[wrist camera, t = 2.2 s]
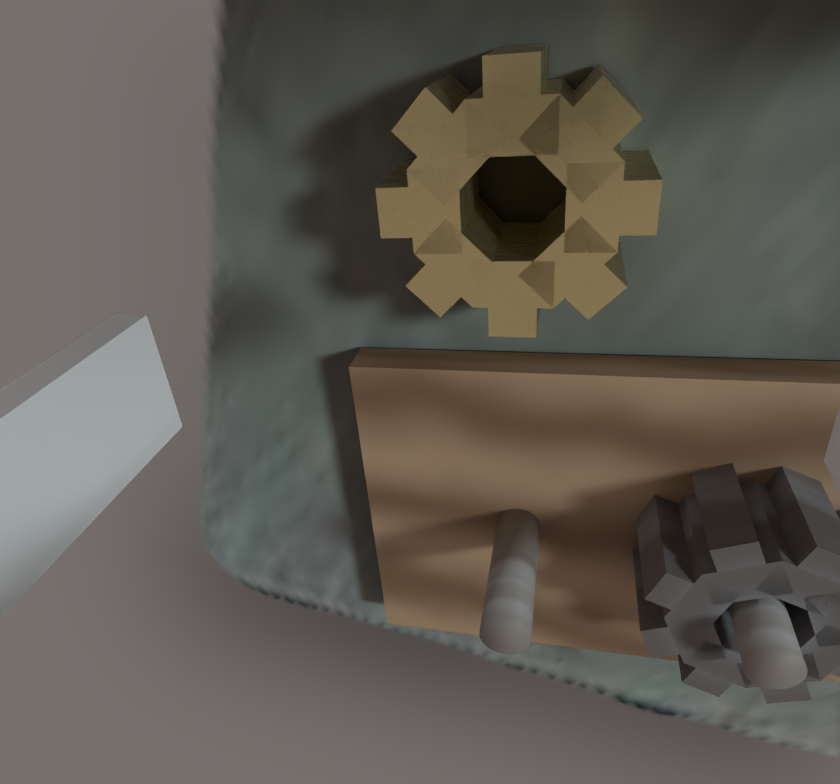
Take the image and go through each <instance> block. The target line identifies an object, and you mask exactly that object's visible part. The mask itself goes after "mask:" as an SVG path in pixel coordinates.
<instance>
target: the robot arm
mask: <svg viewBox="0 0 840 784" xmlns="http://www.w3.org/2000/svg"><path fill="white" fill-rule="evenodd" d="M181 427H182V424H181V420H180V417H179V414H178V411H177V408H176V405H175V402H174V398H173V396H172V392H171V389H170V386H169V383H168V380H167V377H166V374H165V371H164V367H163V364H162V361H161V358H160V355H159V352H158V349H157V346H156V343H155V340H154V337H153V333H152V331H151V327H150V324H149V321H148V318H147V315H113V316H112V317H110V318H109V319H107V320H106V321H104V322H103V323H101V324H100V325H98V326H96V327H95V328H94V329H92V330H90V331H89V332H87V333H86V334H84V335H83V336H81V337H80V338H78V339H77V340H75V341H74V342H72V343H71V344H69V345H68V346H66V347H65V348H63V349H62V350H60V351H59V352H57V353H56V354H54V355H53V356H51V357H49V358H48V359H46V360H45V361H43V362H42V363H40V364H39V365H38V366H36V367H34V368H33V369H31V370H30V371H28V372H27V373H25V374H24V375H22V376H21V377H19V378H18V379H16V380H15V381H13V382H12V383H10V384H9V385H7V386H6V387H4V388H3V389H1V390H0V618H1V617H2V616H3V615H4V614H5V613H6V612H7V611H8V610H9V609H10V608H11V607H12V606H13V605H14V604H15V602H16V601H17V600H18V599H19V598H20V597H21V596H22V595H23V594H24V593H25V592H26V591H27V590H28V589H29V588H30V587H31V586H32V585H33V583H34V582H35V581H36V580H37V579H38V578H39V577H40V576H41V575H42V574H43V573H44V572H45V571H46V570H47V568H48V567H50V566H51V564H52V563H53V562H54V561H55V560H56V559H57V558H58V557H59V556H60V555H61V554H62V553H63V552H64V551H65V550H66V549H67V548H68V547H69V546H70V544H71V543H72V542H73V541H74V540H75V539H76V538H77V537H78V536H79V535H80V534H81V533H82V532H83V531H84V529H86V528H87V527H88V525H89V524H90V523H91V522H92V521H93V520H94V519H95V518H96V517H97V516H98V515H99V514H100V513H101V512H102V511H103V510H104V509H105V508H106V506H107V505H108V504H109V503H110V502H111V501H112V500H113V499H114V498H115V497H116V496H117V495H118V494H119V493H120V492H121V491H122V490H123V489H124V487H125V486H126V485H127V484H128V483H129V482H130V481H131V480H132V479H133V478H134V477H135V476H136V475H137V474H138V473H139V472H140V471H141V470H142V469H143V467H144V466H145V465H146V464H147V463H148V462H149V461H150V460H151V459H152V458H153V457H154V456H155V455H156V454H157V453H158V452H159V451H160V450H161V448H162V447H163V446H164V445H165V444H166V443H167V442H168V441H169V440H170V439H171V438H172V437H173V436H174V435H175V434H176V433H177V432H178V430H179V429H180V428H181ZM824 463H825V465H826V467H827V468H828V470H829V472H830V474H831V476H832V478H833V480H834V481H835V483H836V485H837V487H838V489H839V491H840V407H839V410H838V414H837V417H836V420H835V424H834V427H833V431H832V434H831V437H830V441H829V444H828V448H827V451H826V455H825V458H824Z"/></svg>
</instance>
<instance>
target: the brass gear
mask: <svg viewBox="0 0 840 784" xmlns="http://www.w3.org/2000/svg"><path fill="white" fill-rule="evenodd" d="M482 74H483V85H482V86H481V87H479V88H478V89H477V90H476V91H474V92H473V93H472V94H471V93H470V92H469V91H468V90H467V89H466V88H465V87H464V86H463V85H462V83H461V82H460V81H459V80H458V79H457V78H456V77H455V76H454V75H453V74H450V75H448V76H446V77H444V78H442V79H440V80H438V81H436V82H434V83H432V84H430V85H428V86H426V87H425V88H424V89H423V91H422V92H421V93H420V94H419V96H418V97H417V98H416V100H415V101H414V102H413V103H412V105H411V106H410V107H409V109H408V110H407V111H406V113H405V114H404V115H403V116H402V118H401V119H400V120H399V122H398V123H397V124H396V125H395V127H394V128H393V129H392V131H391V132H392V133H393V134H395V135H396V136H397V137H398V138H399V139H400V140H401V141H402V142H403V143H404V144H405V145H406V146H407V147H408V148H409V149H410V150H411V151H412V152H413V153H414V154H415V155H416V156H417V158H416V159H415V160H407V161H406V162H404V163H403V164H402V165H401V166H400V167H399V168H398V169H397V170H395V171H394V172H393V173H392V174H391V175H390V176H389V177H387V178H386V179H385V180H384V181H383V182H382V183H381V184H380V185H378V186H377V187H376V188H375V190H376V199H377V209H378V218H379V227H380V236H381V238H412V239H413V251H414V254H415V255H416V256H417V257H418V258H419V259H420V260H421V262H420V264H419V265H418V267H417V268H416V270H415V272H414V273H413V275H412V276H411V278H410V280H409V281H408V283H407V284H406V287H407V288H408V289H409V290H410V291H411V292H413V293H414V294H415V295H416V296H417V297H418V298H419V299H420V300H421V301H423V302H424V303H425V304H426V305H427V306H428V307H429V308H430V309H431V310H433V311H434V312H435V313H436V314H437V315H438V316H439V317H441V316H442V315H443V314H444V313H445V312H446V311H447V310H448V309H449V308H450V307H452V306H453V305H454V304H455V303H456V302H457V301H458V300H459V299H460V298H461V297H462V298H463V299H464V300H465V301H466V302H467V303H468V304H469V305H470V306H471V307H472V308H488V321H489V337H528V338H536V336H537V329H538V321H539V314H540V308H549V309H553V308H554V307H555V306H557V305H558V304H559V303H560V302H561V301H562V300H563V299H565V298H566V299H567V300H568V301H569V302H570V303H571V304H572V305H573V306H574V307H575V308H576V309H577V310H578V311H579V312H580V313H581V314H582V315H583V316H584V317H586V318H587V319H588V320H589V319H590V318H591V317H592V316H593V315H595V314H596V313H597V312H598V311H599V310H601V309H602V308H603V307H604V306H605V305H607V304H608V303H609V302H610V301H611V300H613V299H614V298H615V297H616V296H618V295H619V294H620V293H621V292H622V291H624V290H625V289H626V288H627V282H626V276H625V270H624V264H623V258H622V252H621V246H620V243H619V242H618V241H619V235H656V234H657V225H658V216H659V207H660V198H661V189H662V178H661V175H660V173H659V171H658V169H657V167H656V165H655V163H654V161H653V159H652V157H651V154H650V152H649V150H644V151H622V149H621V146H620V143H619V142H620V141H621V140H622V139H623V138H624V137H625V136H626V135H627V134H628V133H629V132H630V131H631V130H632V129H633V128H634V127H635V126H636V125H637V124H638V123H639V122H640V121H641V120H642V119H643V117H642V116H641V114H640V112H639V110H638V109H637V107H636V105H635V103H634V101H633V100H632V98H631V97H630V96H629V95H628V94H627V93H626V92H625V91H624V90H623V89H622V88H621V86H620V85H619V84H618V83H617V82H616V81H615V80H614V79H613V78H612V77H611V76H610V75H609V73H608V72H607V71H606V70H605V69H604V68H603V67H602V66H601V65H600V64H598V65H597V66H596V67H595V68H594V69H593V70H592V71H591V72H590V74H589V75H588V76H587V77H586V78H585V79H584V80H583V81H582V82H581V83H580V84H579V85H578V87H577V88H576V89H575V90H574V89H573V88H572V87H571V86H570V85H569V84H568V83H567V82H566V81H565V80H564V78H563V79H548V80H547V75H548V44H535V45H522V46H509V47H499V48H497V49H495V50H493V51H491V52H489V53H487V54H485V55H483V56H482ZM531 155H535V156H536V157H537V158H538V159H539V160H540V161H541V162H542V163H543V164H544V165H545V166H546V167H547V168H548V169H549V170H550V171H551V172H552V173H553V174H554V175H555V176H556V177H557V178H558V179H559V180H560V181H561V182H562V183H563V184H564V185H565V186H566V197H565V198H564V199H563V200H562V201H561V202H560V203H559V204H558V205H557V206H556V207H555V208H554V209H553V210H552V211H551V212H550V213H549V214H548V215H547V216H546V217H545V218H544V219H543V220H542V221H541V222H504V221H503V220H502V219H501V218H500V217H499V216H498V215H497V214H496V213H495V212H494V211H493V210H492V209H491V208H490V207H489V206H488V205H487V204H486V203H485V202H484V201H482V200H481V199H480V190H479V168H480V167H481V166H482V165H483V163H484V162H485V161H486V160H487V159H488V158H489V157H505V156H531Z"/></svg>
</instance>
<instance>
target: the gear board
mask: <svg viewBox="0 0 840 784" xmlns="http://www.w3.org/2000/svg"><path fill="white" fill-rule="evenodd" d="M349 372H350V379H351V386H352V392H353V399H354V406H355V412H356V419H357V426H358V432H359V439H360V445H361V452H362V459H363V465H364V472H365V479H366V485H367V492H368V498H369V505H370V512H371V518H372V525H373V532H374V538H375V545H376V552H377V558H378V565H379V571H380V578H381V585H382V591H383V598H384V605H385V611H386V618H387V624H393V625H401V626H409V627H416V628H424V629H432V630H440V631H448V632H456V633H464V634H471V635H479V636H480V639H481V640H482V642H483V643H484V644H485V645H486V646H487V647H488V648H490V649H492V650H494V651H496V652H499V653H503V654H517V653H521V652H523V651H525V650H526V649H527V648H528V647H529V646H530V644H531V642H534V643H542V644H550V645H558V646H566V647H574V648H582V649H589V650H597V651H605V652H613V653H621V654H629V655H637V656H644V657H652V658H660V659H668V660H676V661H679V666H680V672H681V679H682V682H683V683H685V684H688V685H690V686H693V687H695V688H698V689H700V690H703V691H705V692H708V693H710V694H713V695H715V696H718V697H719V696H720V695H721V694H722V693H723V692H725V691H726V690H727V689H728V688H729V687H730V686H731V685H732V684H733V683H735V684H738V685H740V686H743V687H745V688H750V687H761V689H762V692H763V695H764V697H765V700H766V702H767V703H778V702H789V701H800V700H811V697H810V694H809V691H808V688H807V685H806V682H811V681H821V680H822V679H825V680H833V681H840V491H839V489H838V487H837V485H836V483H835V481H834V480H833V478H832V476H831V474H830V472H829V470H828V468H827V467H826V465H825V463H824V458H825V455H826V451H827V448H828V444H829V441H830V437H831V434H832V431H833V427H834V424H835V420H836V417H837V414H838V410H839V407H840V361H809V360H773V359H738V358H702V357H667V356H631V355H596V354H560V353H525V352H489V351H453V350H418V349H382V348H360V350H359V351H358V353H357V355H356V356H355V358H354V359H353V361H352V362H351V364H350V365H349Z"/></svg>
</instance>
